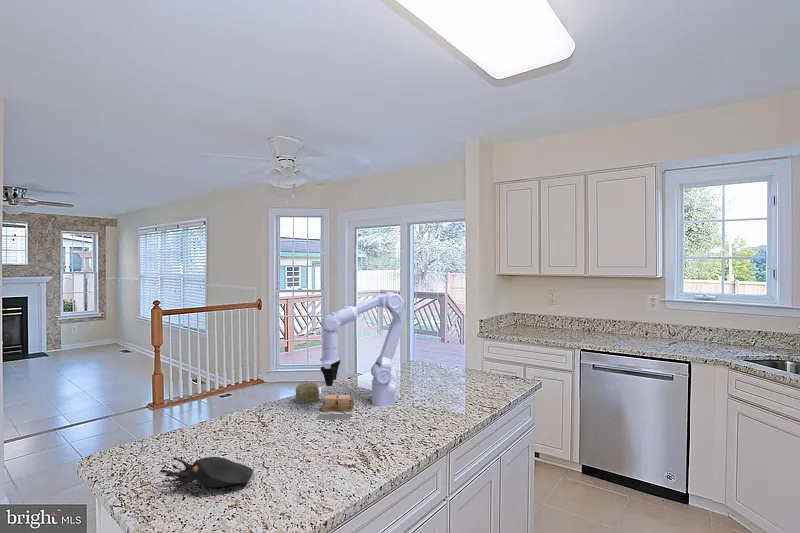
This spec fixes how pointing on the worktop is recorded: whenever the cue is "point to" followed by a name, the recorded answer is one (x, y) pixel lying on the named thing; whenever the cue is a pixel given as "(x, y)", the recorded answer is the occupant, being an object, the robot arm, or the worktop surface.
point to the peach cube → (344, 400)
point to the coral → (307, 392)
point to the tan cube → (331, 400)
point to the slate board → (334, 417)
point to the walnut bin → (338, 407)
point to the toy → (211, 472)
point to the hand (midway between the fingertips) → (331, 382)
